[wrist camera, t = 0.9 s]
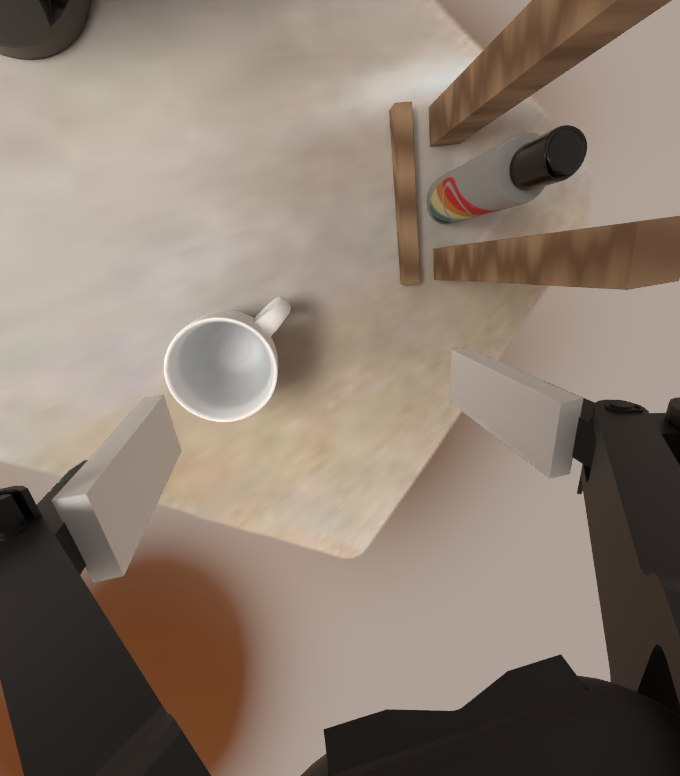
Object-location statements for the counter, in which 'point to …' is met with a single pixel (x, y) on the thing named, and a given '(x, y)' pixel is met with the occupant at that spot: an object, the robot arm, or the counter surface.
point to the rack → (492, 99)
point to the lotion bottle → (507, 174)
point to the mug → (226, 362)
